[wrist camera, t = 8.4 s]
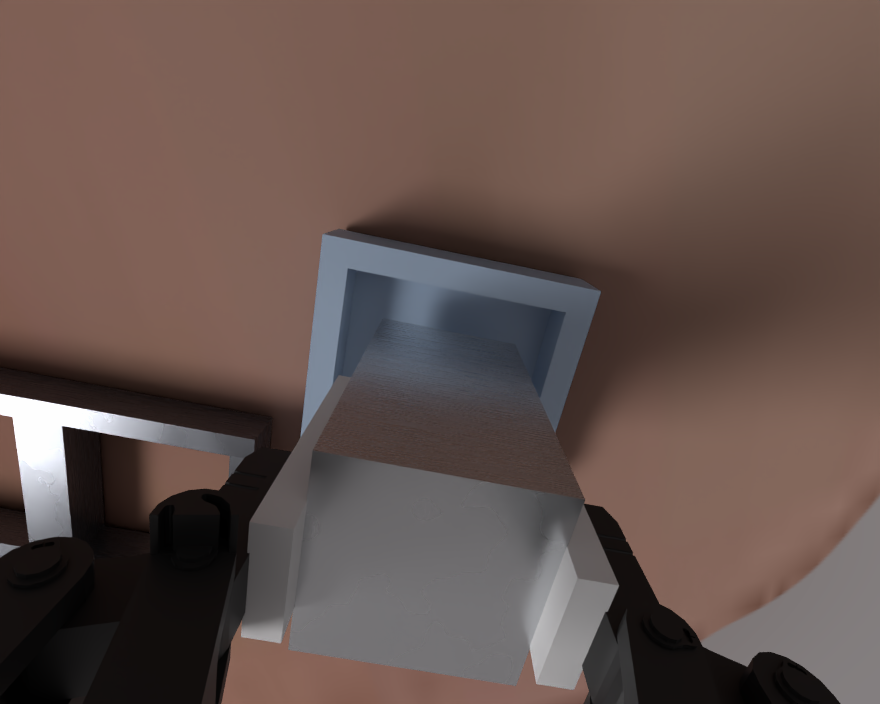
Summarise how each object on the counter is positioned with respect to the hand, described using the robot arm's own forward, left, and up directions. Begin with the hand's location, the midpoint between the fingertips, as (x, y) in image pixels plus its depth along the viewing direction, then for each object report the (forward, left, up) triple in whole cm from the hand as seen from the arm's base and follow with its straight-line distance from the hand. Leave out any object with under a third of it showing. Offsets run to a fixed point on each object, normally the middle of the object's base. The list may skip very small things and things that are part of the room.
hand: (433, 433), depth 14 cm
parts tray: (0, 0, -6) cm, 6 cm away
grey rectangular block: (0, 0, -3) cm, 3 cm away
